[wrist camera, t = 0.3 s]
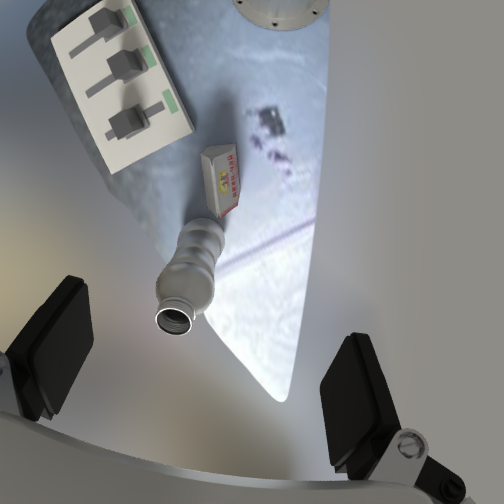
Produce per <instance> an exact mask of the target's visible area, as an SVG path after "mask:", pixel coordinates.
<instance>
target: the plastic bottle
mask: <svg viewBox="0 0 504 504" xmlns="http://www.w3.org/2000/svg"><path fill="white" fill-rule="evenodd" d="M224 245H225V238H224V233H223V230H222V228H221V227H220V226H219V225H218V224H217V223H216V222H215V221H213V220H211V219H208V218H197V219H194V220H191V221H190V222H188V223H187V224H186V225H185V226H184V227H183V228H182V230H181V231H180V233H179V236H178V242H177V248H176V252H175V254H174V256H173V257H172V259H171V261H170V262H169V263H168V264H167V266H166V267H165V268H164V269H163V270H162V272H161V274H160V275H159V277H158V278H157V281H156V297H157V299H158V302H159V306H158V311H157V313H156V316H155V322H156V325H157V327H158V328H159V329H160V330H161V331H162V332H164V333H166V334H168V335H171V336H182V335H185V334H187V333H188V332H189V331H190V330H191V328H192V325H193V322H194V321H195V318H196V316H197V315H199V314H201V313H203V312H204V311H205V310H206V309H207V308H208V306H209V305H210V304H211V302H212V300H213V298H214V291H215V286H214V271H215V265H216V262H217V260H218V258H219V256H220V255H221V253H222V251H223V249H224Z"/></svg>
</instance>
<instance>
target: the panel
mask: <svg viewBox="0 0 504 504" xmlns="http://www.w3.org/2000/svg"><path fill="white" fill-rule="evenodd" d="M103 7H105V8H107V9H109V10H112V11H114V12H115V11H116V10H118V9H120V10H121V12H122V15H123V17H124V19H125V21H126V23H127V26H128V28H129V29H127V30H126V31H124V32H122V33H121V34H119V35H117V36H116V37H114V38H113V39H111V40H109V41H108V42H106V43H105V40H104V38H103V37H101V36H97V35H95V33H94V31H93V28H92V26H91V24H90V21H89V19H88V17H90V16H91V15H93V14H94V13H96V12H97V11H99V10H100V9H102V8H103ZM51 41H52V44H53V46H54V49H55V51H56V54H57V56H58V59H59V61H60V64H61V66H62V69H63V71H64V74H65V76H66V78H67V81H68V83H69V85H70V88H71V90H72V92H73V95H74V97H75V99H76V101H77V104H78V106H79V108H80V110H81V113H82V115H83V117H84V119H85V121H86V123H87V126H88V128H89V130H90V132H91V134H92V136H93V138H94V140H95V142H96V144H97V146H98V148H99V150H100V152H101V154H102V156H103V158H104V160H105V162H106V164H107V166H108V168H109V170H110V172H111V174H114V173H115V172H117V171H119V170H121V169H123V168H124V167H126V166H128V165H130V164H132V163H133V162H135V161H137V160H139V159H141V158H143V157H145V156H146V155H148V154H150V153H152V152H154V151H156V150H158V149H160V148H162V147H164V146H166V145H168V144H170V143H172V142H174V141H176V140H178V139H180V138H182V137H184V136H186V135H189V134H191V133H193V132H195V128H194V126H193V124H192V122H191V120H190V118H189V116H188V114H187V111H186V109H185V107H184V105H183V103H182V101H181V99H180V97H179V94H178V92H177V90H176V88H175V86H174V84H173V82H172V79H171V77H170V75H169V73H168V71H167V69H166V67H165V65H164V62H163V60H162V58H161V56H160V54H159V52H158V50H157V47H156V45H155V43H154V41H153V39H152V37H151V35H150V33H149V30H148V28H147V26H146V24H145V22H144V20H143V18H142V16H141V13H140V11H139V9H138V7H137V5H136V3H135V1H134V0H102V1H101V2H99V3H98V4H96V5H95V6H93V7H92V8H90V9H89V10H88V11H86V12H85V13H83V14H82V15H80V16H79V17H78V18H76V19H75V20H74V21H72V22H71V23H70V24H68V25H67V26H66V27H64V28H63V29H62V30H61V31H59V32H58V33H57V34H56V35H54V36H53V37H52V38H51ZM137 48H138V50H139V52H140V54H141V56H142V58H143V60H144V62H145V65H146V67H147V69H148V71H147V72H145V73H143V74H141V75H140V76H138V77H136V78H134V79H133V80H131V81H129V82H128V83H126V84H124V83H123V80H115V78H114V76H113V74H112V72H111V70H110V67H109V65H108V63H107V61H106V59H108V58H110V57H111V56H113V55H114V54H116V53H117V52H119V51H121V50H122V49H124V50H127V51H131V52H132V51H133V50H135V49H137ZM137 104H139V105H140V107H141V109H142V112H143V114H144V116H145V118H146V120H147V122H148V124H149V126H150V127H149V128H147V129H146V130H144V131H142V132H140V133H138V134H136V135H135V136H133V137H131V138H129V139H128V140H127V139H126V137H125V138H123V139H120V140H118V139H117V137H116V135H115V133H114V131H113V129H112V127H111V125H110V123H109V121H108V119H109V118H111V117H113V116H114V115H116V114H117V113H119V112H121V111H122V110H125V109H130V108H131V107H133V106H135V105H137Z"/></svg>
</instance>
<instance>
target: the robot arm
mask: <svg viewBox="0 0 504 504" xmlns="http://www.w3.org/2000/svg"><path fill="white" fill-rule="evenodd" d="M232 1H233V4H234V5H235V7H236V9H237V10H238V11H239V13H240V14H241V15H242V16H243V17H244V18H246V19H247V20H248V21H249V22H251V23H253V24H255V25H257V26H259V27H262V28H265V29H269V30H274V31H291V30H297V29H300V28H303V27H305V26H307V25H309V24H311V23H313V22H314V21H315V20H317V19H318V18H319V17H320V16H321V15H322V13H323V12H324V10H325V9H326V7H327V5H328V2H329V0H232ZM240 1H241V2H242V3H241V4H238V2H240ZM313 12H316V15H315V14H313ZM273 24H277V26H273ZM92 330H93V329H92V322H91V314H90V305H89V295H88V286H87V284H85V283H84V280H83V279H82V278H78V277H75V276H71V275H68V276H66V277H65V279H64V280H63V281H62V282H61V283H60V284H59V286H58V287H57V288H56V289H55V291H54V292H53V293H52V294H51V295H50V296H49V298H48V299H47V300H46V301H45V303H44V304H43V305H42V306H40V307H39V308H38V310H37V311H36V312H35V313H34V315H33V316H32V317H31V319H30V320H29V321H28V322H27V324H26V325H25V326H24V328H23V329H22V330H21V332H20V333H19V334H18V335H17V337H16V338H15V340H14V341H13V342H12V344H11V345H10V346H9V348H8V349H7V351H6V352H5V353H2V352H1V351H0V504H476V503H475V502H474V501H473V500H472V499H471V498H470V497H468V498H466V497H465V494H466V487H465V484H464V482H463V480H462V479H461V478H460V477H459V476H458V475H456V474H455V473H453V472H451V471H450V470H449V469H447V468H446V467H444V466H443V465H441V464H440V463H438V462H437V461H435V460H434V459H432V458H431V457H429V456H428V450H429V449H428V444H427V441H426V439H425V438H424V436H423V435H422V434H421V433H419V432H418V431H416V430H414V429H409V428H406V429H401V425H400V422H399V419H398V416H397V413H396V410H395V407H394V403H393V400H392V397H391V394H390V391H389V388H388V385H387V383H386V380H385V377H384V374H383V372H382V370H381V367H380V364H379V362H378V359H377V356H376V353H375V350H374V348H373V345H372V342H371V340H370V337H369V336H368V334H363V333H355V332H353V333H352V334H351V335H350V336H346V338H345V339H344V341H343V343H342V345H341V347H340V349H339V351H338V353H337V355H336V356H335V358H334V360H333V362H332V364H331V365H330V367H329V369H328V371H327V373H326V375H325V376H324V378H323V380H322V381H321V384H320V396H321V402H322V409H323V416H324V422H325V429H326V436H327V443H328V451H329V458H330V464H331V465H332V466H334V467H335V473H347V475H348V481H289V480H270V479H256V478H246V477H236V476H229V475H221V474H214V473H206V472H201V471H195V470H190V469H184V468H179V467H174V466H169V465H164V464H160V463H155V462H152V461H148V460H144V459H140V458H136V457H132V456H129V455H125V454H122V453H118V452H115V451H111V450H108V449H105V448H102V447H99V446H96V445H93V444H90V443H87V442H84V441H81V440H79V439H76V438H73V437H70V436H68V435H65V434H63V433H60V432H57V431H55V430H52V429H50V428H47V427H45V426H43V425H40V424H38V423H37V421H38V420H39V418H40V416H42V417H44V418H47V419H49V420H52V417H53V415H54V414H56V415H57V414H58V413H59V411H60V409H61V407H62V405H63V403H64V401H65V399H66V397H67V395H68V393H69V391H70V388H71V387H72V384H73V383H74V381H75V379H76V377H77V375H78V373H79V371H80V369H81V367H82V365H83V363H84V361H85V359H86V357H87V355H88V353H89V351H90V350H91V348H92V345H93V341H94V337H93V331H92Z"/></svg>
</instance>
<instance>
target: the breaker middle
mask: <svg viewBox="0 0 504 504" xmlns="http://www.w3.org/2000/svg"><path fill="white" fill-rule="evenodd" d="M106 61H107V63H108V65H109V67H110V70H111V72H112V74H113V76H114V78H115V80H123V83H124V84H126V83H128V82H129V81H131V80H133V79H134V78H136V77H138V76H140V75H141V74H143V73H145V72H147V71H148V69H147V67H146V65H145V62H144V60H143V58H142V56H141V54H140V52H139V50H138V48H137V49H135V50H133V51H132V52H131V51H127V50H124V49H122V50H121V51H119V52H117V53H116V54H114V55H113V56H111V57H110V58H108V59H106Z"/></svg>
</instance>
